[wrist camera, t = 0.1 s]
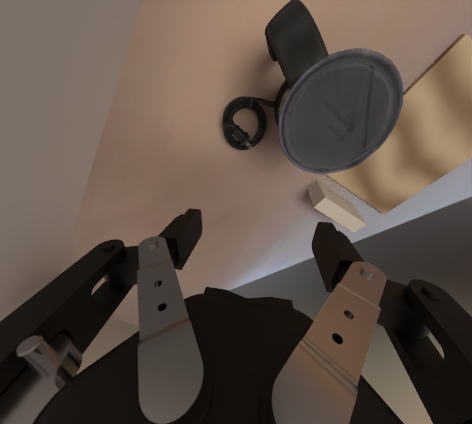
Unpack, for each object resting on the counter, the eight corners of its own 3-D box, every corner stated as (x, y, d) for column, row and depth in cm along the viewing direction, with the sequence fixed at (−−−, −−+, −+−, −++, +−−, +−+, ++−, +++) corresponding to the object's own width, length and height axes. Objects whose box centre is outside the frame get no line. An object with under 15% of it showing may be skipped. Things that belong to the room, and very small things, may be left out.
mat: (461, 34, 20) (466, 33, 19) (533, 112, 22) (539, 112, 22) (324, 172, 31) (325, 173, 31) (382, 212, 34) (384, 214, 33)
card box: (316, 179, 32) (325, 197, 27) (351, 203, 34) (366, 224, 29) (306, 189, 34) (312, 208, 29) (340, 212, 35) (352, 233, 30)
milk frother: (355, 98, 25) (433, 108, 13) (277, 177, 33) (281, 227, 21) (280, 18, 21) (292, -69, 9) (216, 129, 30) (180, 157, 18)
